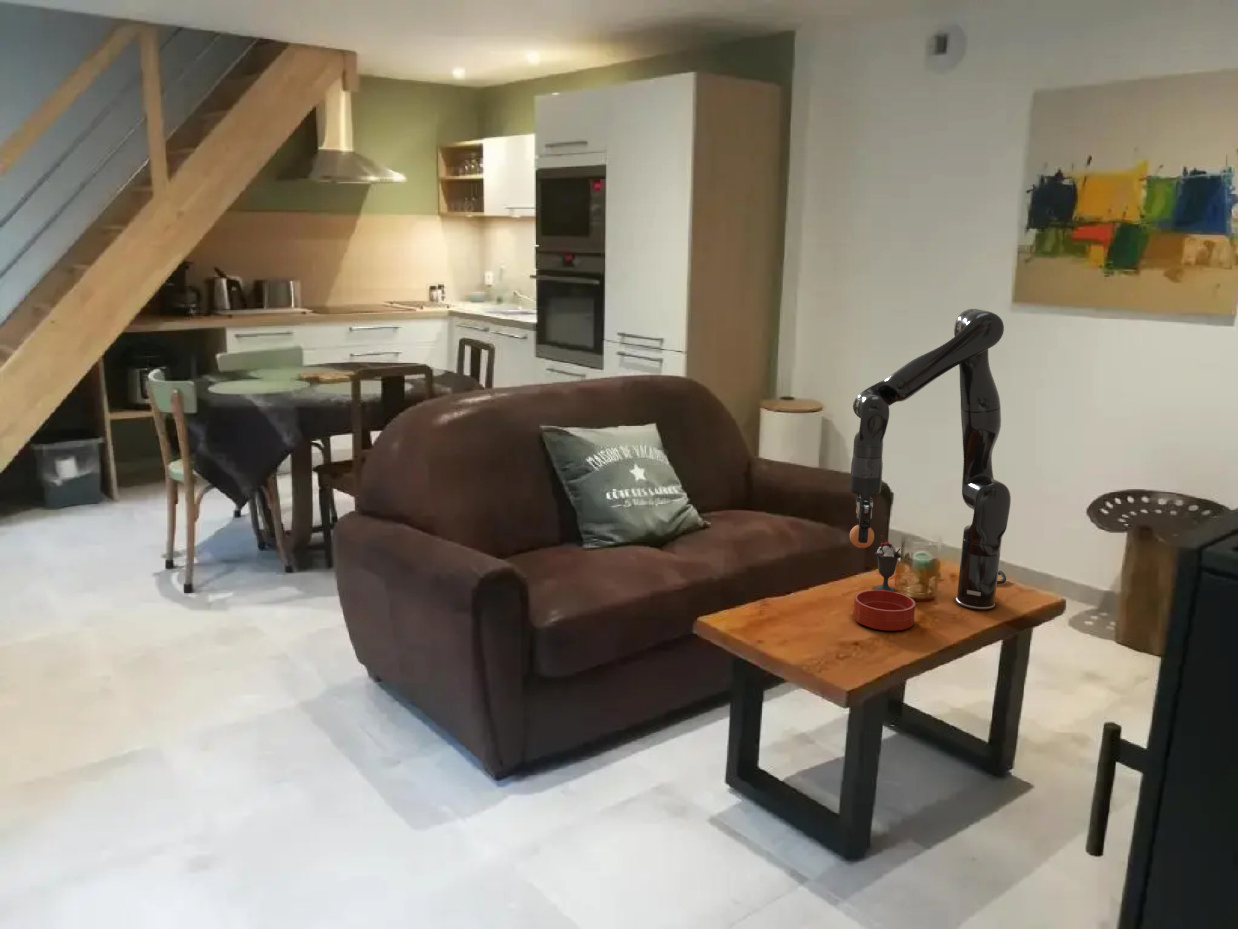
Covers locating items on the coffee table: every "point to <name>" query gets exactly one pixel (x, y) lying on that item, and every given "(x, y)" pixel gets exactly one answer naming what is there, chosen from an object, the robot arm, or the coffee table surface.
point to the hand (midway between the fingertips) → (861, 538)
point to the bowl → (884, 610)
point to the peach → (855, 534)
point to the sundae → (887, 563)
